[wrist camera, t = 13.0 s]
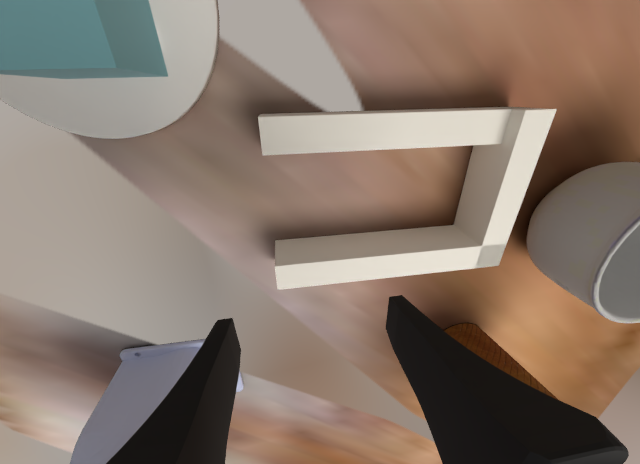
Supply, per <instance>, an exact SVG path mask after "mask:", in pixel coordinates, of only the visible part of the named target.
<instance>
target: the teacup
mask: <svg viewBox="0 0 640 464" xmlns="http://www.w3.org/2000/svg"><path fill="white" fill-rule="evenodd" d="M527 249H528V252H529V255H530V258H531V260H532V261H533V263H534V264H535V266H536V267H537V268H538V269H539V270H540V271H541V272H542V273H543V274H545V275H546V276H547V277H548V278H550V279H551V280H552V281H554V282H555V283H556V284H558V285H559V286H561V287H562V288H564V289H565V290H567V291H568V292H570V293H571V294H573V295H574V296H576V297H577V298H579V299H580V300H582V301H584V302H585V303H587V304H588V305H590V306H592V307H593V308H595V310H596V311H597V312H598V313H599V314H600V315H602V316H603V317H605V318H607V319H609V320H611V321H615V322H619V323H640V162H616V163H607V164H602V165H598V166H595V167H591V168H589V169H586V170H584V171H582V172H579V173H577V174H575V175H574V176H572V177H570V178H569V179H567V180H565V181H564V182H563V183H561V184H560V185H559V186H557V187H556V188H554V189H553V190H552V191H550V192H549V193H548V194H547V195H546V196H545V197H544V198H543V199H542V200H541V202H540V203H539V204H538V206H537V207H536V209H535V210H534V212H533V214H532V217H531V219H530V223H529V228H528V233H527Z"/></svg>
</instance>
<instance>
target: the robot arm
mask: <svg viewBox="0 0 640 464" xmlns="http://www.w3.org/2000/svg"><path fill="white" fill-rule="evenodd" d="M386 330H387V333H388V336H389V339H390V342H391V344H392V347H393V350H394V352H395V354H396V356H397V358H398V360H399V362H400V364H401V366H402V368H403V370H404V372H405V374H406V376H407V378H408V380H409V382H410V384H411V386H412V388H413V390H414V392H415V394H416V396H417V399H418V401H419V403H420V405H421V407H422V410H423V412H424V415H425V418H426V420H427V423H428V425H429V428H430V430H431V433H432V435H433V438H434V441H435V444H436V447H437V449H438V452H439V455H440V457H441V460H442V463H443V464H623V463H624V462H625V461H626V459H627V458H628V450H627V448H626V447H625V446H624V445H623V444H622V443H621V442H620V441H619V440H618V439H617V438H616V437H615V436H614V435H613V434H612V433H611V432H610V431H609V430H608V429H607V428H606V427H605V426H604V425H603V424H602V423H601V422H600V421H599V420H598V419H597V418H596V417H594V416H592V415H590V414H588V413H586V412H583V411H581V410H579V409H577V408H575V407H572V406H570V405H568V404H566V403H563V402H561V401H559V400H557V399H555V398H553V397H551V396H549V395H547V394H545V393H543V392H541V391H539V390H537V389H535V388H533V387H531V386H529V385H527V384H525V383H523V382H522V381H520V380H518V379H516V378H514V377H513V376H511V375H509V374H507V373H506V372H504V371H502V370H500V369H499V368H497V367H495V366H494V365H492V364H491V363H489V362H487V361H486V360H484V359H483V358H481V357H480V356H478V355H477V354H475V353H474V352H472V351H471V350H469V349H468V348H466V347H465V346H463V345H462V344H461V343H459V342H458V341H457V340H455V339H454V338H452V337H451V336H450V335H448V334H447V333H446V332H445V331H443V330H442V329H441V328H440V327H438V326H437V325H436V324H435V323H433V322H432V321H431V320H430V319H429V318H427V317H426V316H425V315H424V314H423V313H422V312H420V311H419V310H418V309H417V308H416V307H415V306H414V305H412V304H411V303H410V302H409V301H408V300H407V299H405V298H404V297H403V296H402V295H400V296H393V297H389V305H388V313H387V322H386ZM240 352H241V348H240V345H239V341H238V337H237V334H236V330H235V327H234V322H233V319H232V318H230V319H222V320H218V321H217V322H216V323H215V325H214V327H213V328H212V330H211V332H210V333H209V335H208V337H207V338H206V339H201V340H193V341H185V342H178V343H170V344H162V345H154V346H146V347H138V348H130V349H124V350H122V351H121V353H120V355H119V356H120V358H121V360H122V363H121V365H120V366H119V368H118V370H117V371H116V373H115V375H114V377H113V378H112V380H111V382H110V383H109V385H108V387H107V389H106V390H105V392H104V394H103V395H102V397H101V399H100V401H99V402H98V404H97V406H96V408H95V409H94V411H93V413H92V414H91V416H90V418H89V420H88V421H87V423H86V425H85V426H84V428H83V430H82V432H81V434H80V436H79V438H78V440H77V443H76V445H75V448H74V451H73V454H72V458H71V462H70V464H225V456H226V446H227V439H228V432H229V426H230V421H231V415H232V410H233V405H234V399H235V394H236V392H238V391H241V390H243V381H242V377H241V373H240V369H239V368H240V354H241V353H240Z"/></svg>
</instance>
